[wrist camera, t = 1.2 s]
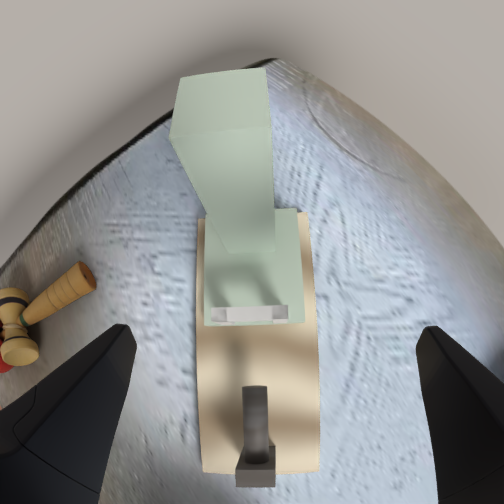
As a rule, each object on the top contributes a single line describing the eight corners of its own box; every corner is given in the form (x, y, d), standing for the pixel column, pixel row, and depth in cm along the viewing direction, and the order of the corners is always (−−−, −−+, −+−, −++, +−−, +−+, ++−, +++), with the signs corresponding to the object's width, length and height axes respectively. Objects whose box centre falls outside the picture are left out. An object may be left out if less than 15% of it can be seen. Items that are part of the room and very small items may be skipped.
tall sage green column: (303, 322, 20) (354, 283, 7) (208, 326, 21) (97, 292, 7) (295, 214, 23) (310, 66, 10) (209, 219, 24) (140, 86, 10)
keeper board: (317, 466, 18) (328, 497, 13) (205, 467, 18) (186, 497, 13) (306, 217, 24) (313, 183, 19) (201, 223, 25) (182, 192, 20)
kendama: (85, 247, 27) (-14, 324, 23) (59, 228, 21) (-47, 321, 16) (118, 311, 26) (11, 383, 22) (94, 308, 20) (-21, 390, 16)
